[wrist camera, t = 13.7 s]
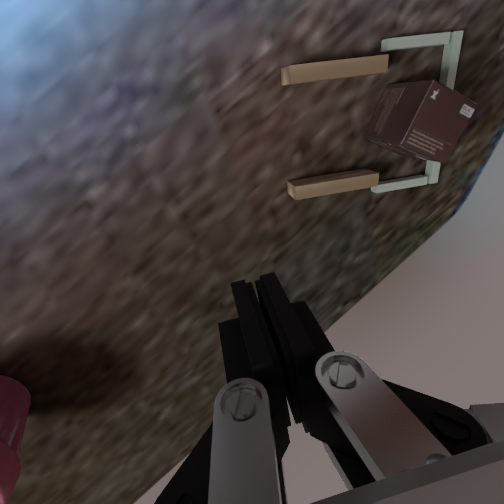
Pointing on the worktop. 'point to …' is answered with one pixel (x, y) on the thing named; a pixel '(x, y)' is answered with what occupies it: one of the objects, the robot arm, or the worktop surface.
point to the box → (419, 119)
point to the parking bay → (446, 78)
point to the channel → (321, 73)
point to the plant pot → (11, 432)
